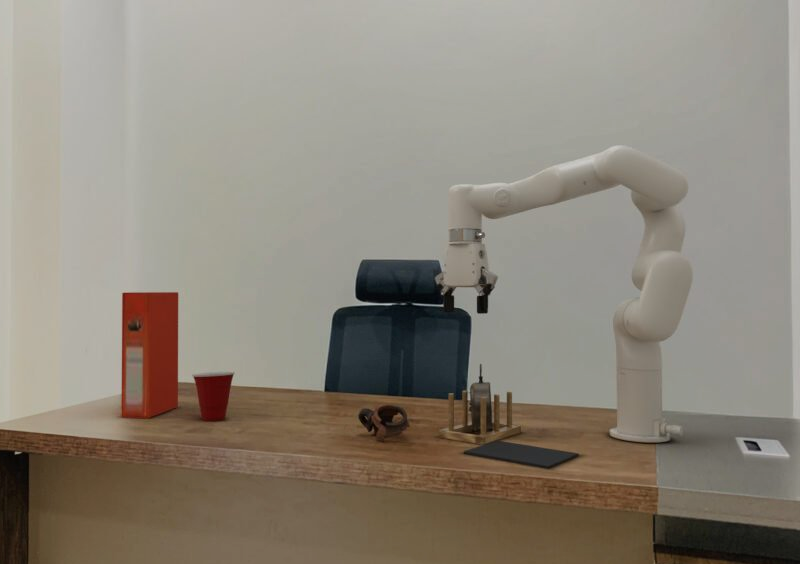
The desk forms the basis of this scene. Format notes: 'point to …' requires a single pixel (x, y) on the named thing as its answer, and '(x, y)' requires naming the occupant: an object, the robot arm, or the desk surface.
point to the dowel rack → (499, 428)
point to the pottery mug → (384, 420)
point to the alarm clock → (475, 398)
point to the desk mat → (522, 454)
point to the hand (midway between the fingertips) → (465, 312)
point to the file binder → (149, 353)
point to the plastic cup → (213, 394)
